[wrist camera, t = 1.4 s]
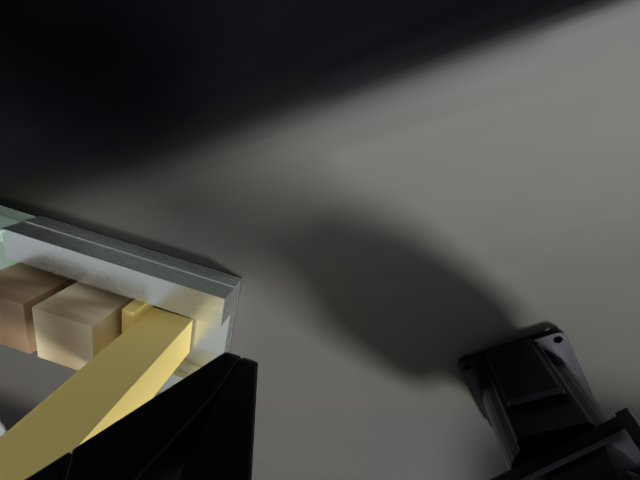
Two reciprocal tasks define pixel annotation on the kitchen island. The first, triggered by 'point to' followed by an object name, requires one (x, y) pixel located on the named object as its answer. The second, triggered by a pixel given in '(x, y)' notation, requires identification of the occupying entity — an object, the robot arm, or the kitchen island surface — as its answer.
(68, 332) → the maple block
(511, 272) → the kitchen island surface
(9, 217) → the tray
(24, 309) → the walnut block
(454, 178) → the kitchen island surface
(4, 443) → the tall yellow pillar
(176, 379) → the slot rail
